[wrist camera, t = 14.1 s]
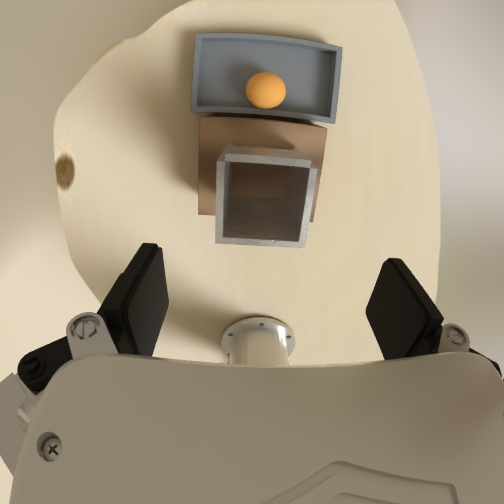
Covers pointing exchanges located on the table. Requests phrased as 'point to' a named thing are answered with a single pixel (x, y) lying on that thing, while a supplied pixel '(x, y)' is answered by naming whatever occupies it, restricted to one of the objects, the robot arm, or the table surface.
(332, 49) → the tray
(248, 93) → the ball
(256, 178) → the stand
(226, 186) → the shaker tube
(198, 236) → the table surface
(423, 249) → the table surface
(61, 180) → the table surface
